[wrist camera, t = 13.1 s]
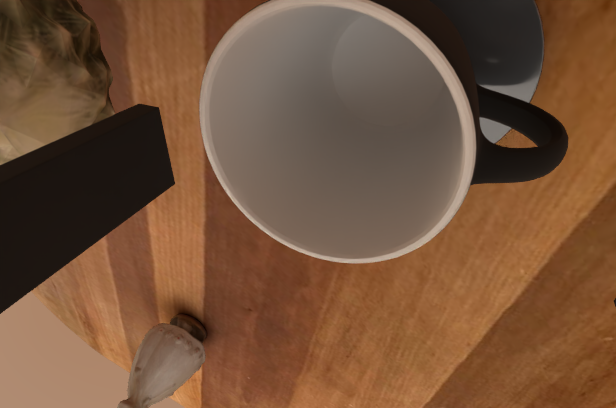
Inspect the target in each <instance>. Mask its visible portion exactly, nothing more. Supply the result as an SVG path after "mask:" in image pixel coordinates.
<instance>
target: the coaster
mask: <svg viewBox="0 0 616 408" xmlns="http://www.w3.org/2000/svg"><path fill="white" fill-rule="evenodd" d="M429 1H430V2H432V3H433V4H434V5H436V6H437V7H438V8H439V9H440V10H441V11H442V12H443V13H444V14H445V15H446V16H447V17H448V18H449V19H450V21H451V22H452V23H453V25H454V26H455V28H456V29H457V31H458V32H459V34H460V36H461V38H462V40H463V42H464V44H465V47H466V49H467V52H468V54H469V57H470V61H471V65H472V68H473V72H474V76H475V82H476V84H478V85H480V86H482V87H484V88H487V89H490V90H493V91H496V92H499V93H502V94H506V95H509V96H512V97H515V98H518V99H520V100H523V101H525V102H528V103H530V102H531V100H532V97H533V95H534V93H535V91H536V89H537V86H538V82H539V79H540V76H541V72H542V66H543V60H544V32H543V25H542V20H541V17H540V14H539V10H538V7H537V4H536V2H535V0H429ZM480 127H481V130H482V133H483V134H484V136H485V137H486V138H487V139H488V140H489V141H490V142H492V143H494V144H495V143H497V142H498V141H499V140H500V139H502V138H503V137H504V136H505V135H506V134H507V133H508V132H509V131H510V130H511V129H512V128H510V127H508V126H506V125H503V124H501V123H498V122H495V121H492V120H489V119H486V118H482V117H480Z"/></svg>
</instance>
